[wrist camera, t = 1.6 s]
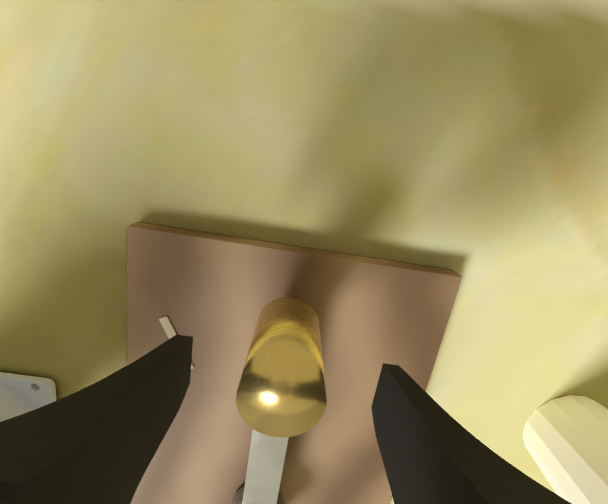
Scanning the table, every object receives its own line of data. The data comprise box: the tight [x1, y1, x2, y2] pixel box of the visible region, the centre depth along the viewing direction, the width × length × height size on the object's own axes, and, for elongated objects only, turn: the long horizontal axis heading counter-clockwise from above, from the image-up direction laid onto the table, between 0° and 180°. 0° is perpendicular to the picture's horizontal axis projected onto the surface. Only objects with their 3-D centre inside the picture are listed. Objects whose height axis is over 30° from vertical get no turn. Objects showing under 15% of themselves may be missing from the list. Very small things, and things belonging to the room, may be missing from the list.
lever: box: [231, 297, 327, 504], centre depth 16 cm, size 4×18×7 cm, turn 171°
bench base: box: [127, 222, 462, 504], centre depth 20 cm, size 18×22×1 cm
